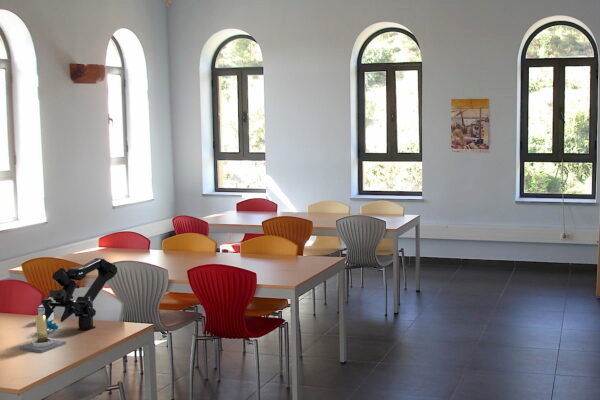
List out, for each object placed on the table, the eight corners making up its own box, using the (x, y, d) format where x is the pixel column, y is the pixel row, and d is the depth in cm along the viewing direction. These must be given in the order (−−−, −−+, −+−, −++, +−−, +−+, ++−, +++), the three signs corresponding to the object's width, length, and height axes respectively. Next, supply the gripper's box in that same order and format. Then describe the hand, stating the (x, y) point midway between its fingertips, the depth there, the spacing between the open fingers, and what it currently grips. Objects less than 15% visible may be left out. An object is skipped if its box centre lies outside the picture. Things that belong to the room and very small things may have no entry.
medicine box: (46, 319, 397) (44, 302, 396) (54, 319, 396) (52, 302, 396) (38, 323, 389) (37, 306, 388) (47, 323, 389) (45, 306, 388)
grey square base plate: (44, 340, 356) (43, 335, 356) (66, 343, 350) (65, 337, 349) (19, 349, 344) (19, 343, 344) (42, 352, 337) (41, 346, 337)
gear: (63, 327, 372) (49, 316, 366) (58, 338, 369) (44, 327, 362) (47, 328, 378) (33, 318, 371) (42, 339, 374) (27, 329, 368)
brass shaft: (46, 341, 350) (43, 313, 348) (49, 343, 346) (46, 315, 345) (36, 344, 347) (33, 315, 346) (39, 346, 344) (36, 317, 342)
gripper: (41, 281, 360) (26, 311, 351) (74, 283, 352) (59, 313, 343) (54, 294, 368) (40, 323, 359) (86, 296, 360) (73, 325, 351)
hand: (53, 321), depth 353 cm, fingers open, 9 cm apart
